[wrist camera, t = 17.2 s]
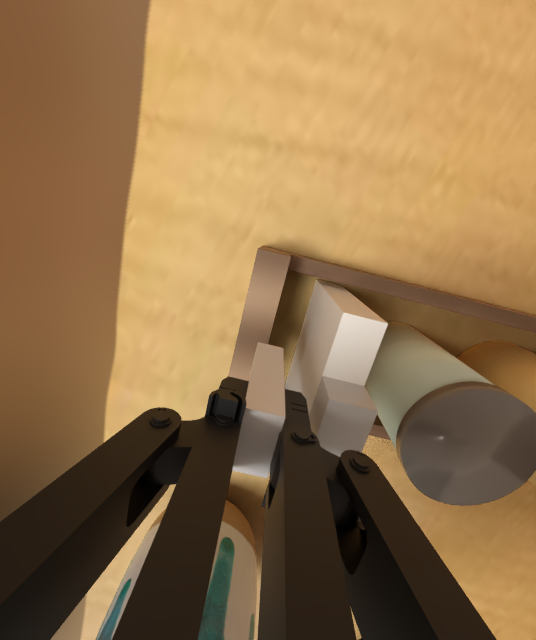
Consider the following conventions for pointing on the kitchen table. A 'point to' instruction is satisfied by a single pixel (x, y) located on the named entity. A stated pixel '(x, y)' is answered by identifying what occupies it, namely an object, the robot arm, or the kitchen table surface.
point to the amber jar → (505, 370)
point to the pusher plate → (337, 366)
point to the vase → (224, 587)
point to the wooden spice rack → (276, 263)
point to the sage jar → (450, 421)
